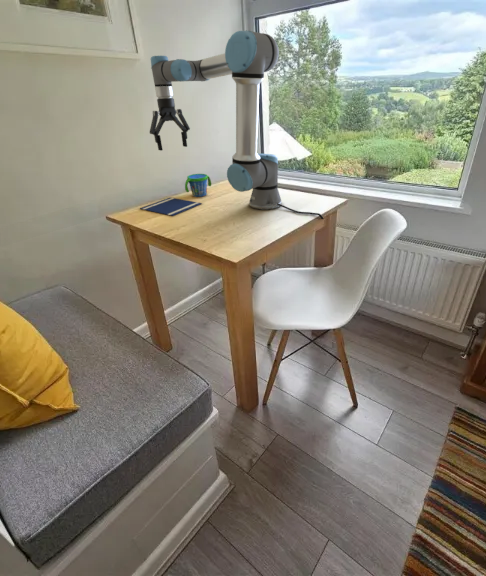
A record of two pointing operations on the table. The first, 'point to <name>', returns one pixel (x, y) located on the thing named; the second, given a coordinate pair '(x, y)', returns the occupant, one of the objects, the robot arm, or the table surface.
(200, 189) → the snack cup
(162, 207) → the towel
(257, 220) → the table surface
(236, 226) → the table surface
